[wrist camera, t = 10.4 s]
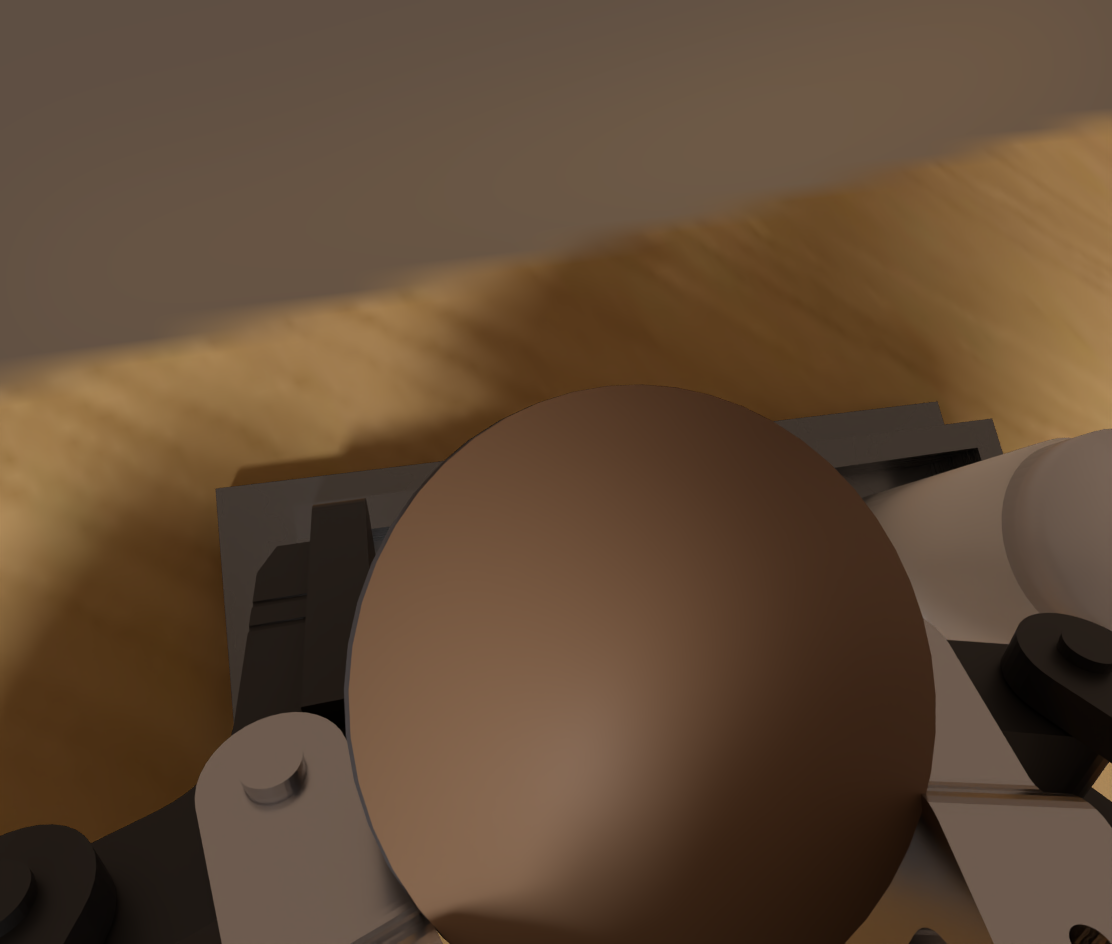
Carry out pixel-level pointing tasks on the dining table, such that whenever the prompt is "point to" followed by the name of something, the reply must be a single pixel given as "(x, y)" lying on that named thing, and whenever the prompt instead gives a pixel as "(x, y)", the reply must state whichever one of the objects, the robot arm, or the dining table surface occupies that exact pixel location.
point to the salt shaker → (1008, 538)
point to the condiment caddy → (286, 506)
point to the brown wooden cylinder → (639, 683)
